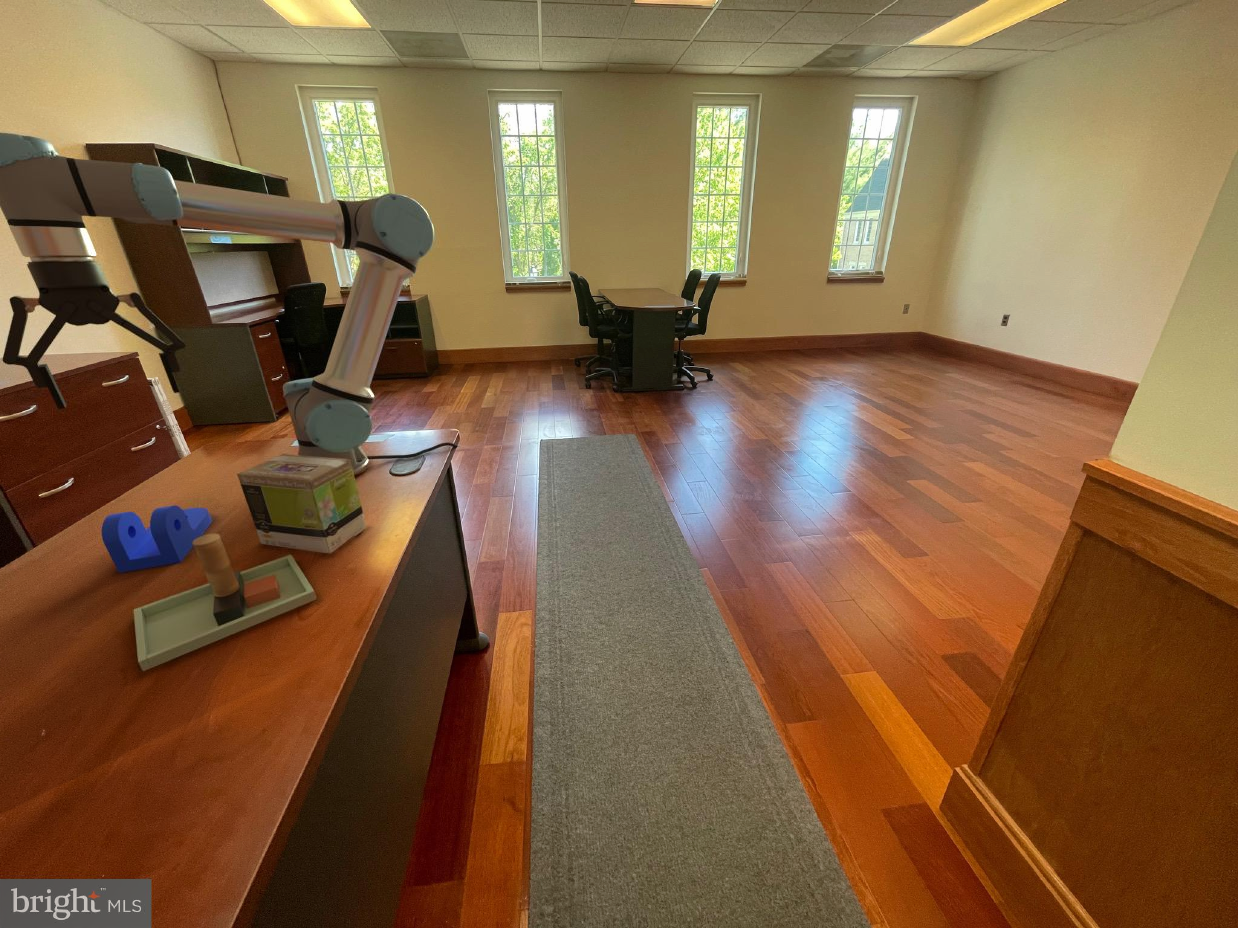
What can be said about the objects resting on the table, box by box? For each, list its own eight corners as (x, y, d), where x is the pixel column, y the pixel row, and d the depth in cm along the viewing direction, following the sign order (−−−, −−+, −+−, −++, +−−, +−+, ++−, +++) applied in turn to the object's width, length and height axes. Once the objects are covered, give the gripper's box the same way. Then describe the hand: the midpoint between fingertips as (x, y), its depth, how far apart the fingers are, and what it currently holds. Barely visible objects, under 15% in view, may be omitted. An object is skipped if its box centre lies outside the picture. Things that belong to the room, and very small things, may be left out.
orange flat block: (278, 584, 76) (275, 574, 75) (280, 597, 73) (276, 587, 72) (247, 594, 73) (243, 583, 73) (248, 608, 71) (244, 597, 70)
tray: (294, 564, 82) (290, 554, 81) (317, 601, 73) (314, 590, 72) (139, 620, 69) (133, 609, 68) (144, 674, 60) (137, 662, 59)
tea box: (368, 527, 93) (352, 458, 87) (330, 556, 84) (308, 481, 78) (303, 519, 95) (282, 451, 90) (259, 546, 86) (233, 472, 81)
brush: (244, 583, 76) (220, 521, 71) (245, 618, 68) (218, 551, 64) (220, 590, 74) (194, 527, 70) (218, 627, 67) (189, 559, 62)
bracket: (180, 562, 82) (160, 517, 78) (118, 572, 79) (95, 526, 75) (218, 513, 97) (202, 474, 94) (167, 521, 94) (149, 480, 91)
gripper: (171, 259, 81) (213, 382, 89) (-70, 259, 65) (9, 409, 73) (176, 260, 76) (220, 389, 84) (-84, 260, 60) (3, 420, 68)
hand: (122, 399), depth 79 cm, fingers open, 13 cm apart
